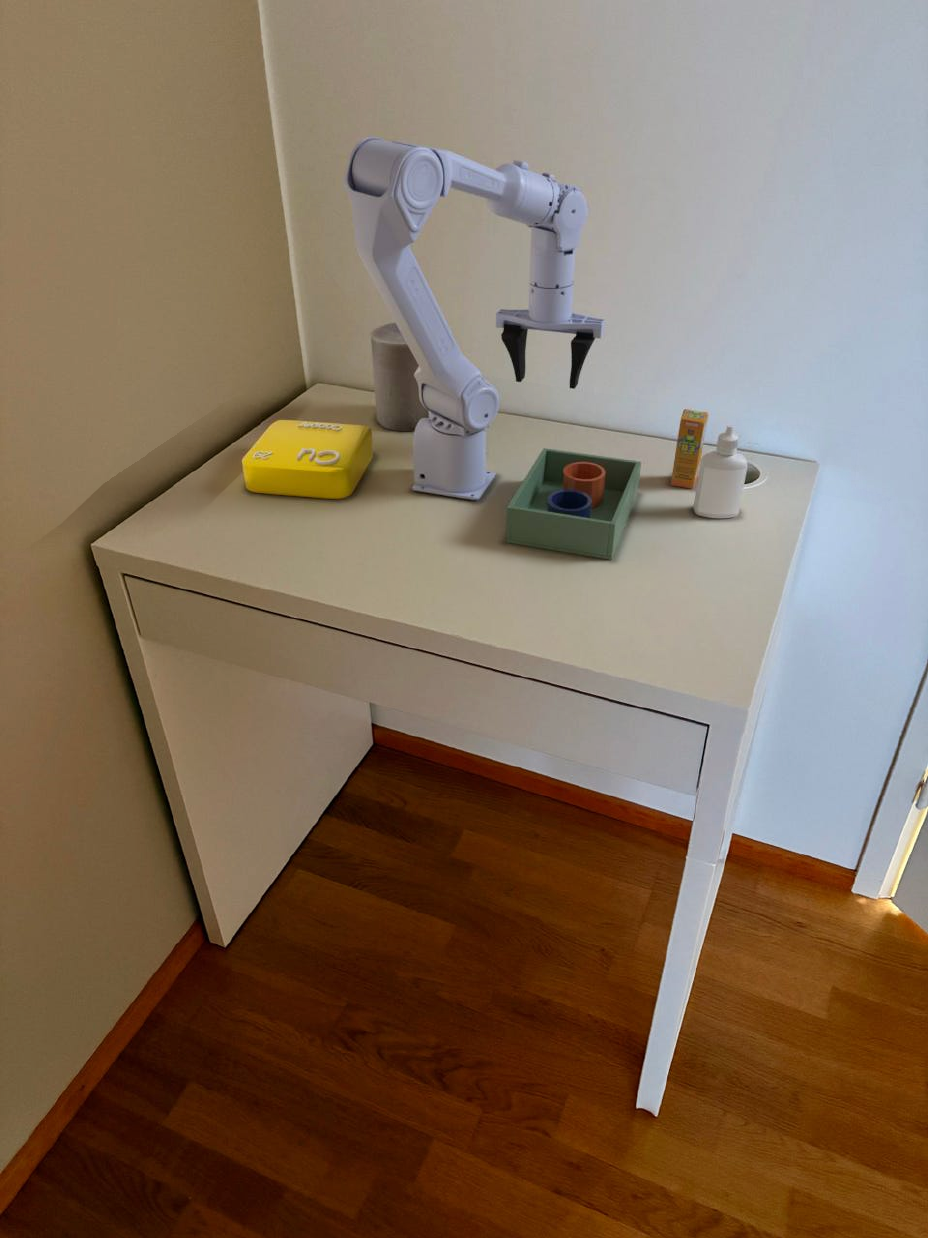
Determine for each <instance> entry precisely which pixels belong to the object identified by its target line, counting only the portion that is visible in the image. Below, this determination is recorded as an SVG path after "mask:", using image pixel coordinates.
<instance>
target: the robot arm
mask: <svg viewBox="0 0 928 1238" xmlns="http://www.w3.org/2000/svg"><path fill="white" fill-rule="evenodd" d="M529 166H530V165H529V163H527V162H525V161H521V160H516V159H514V160H513V161H512V163H511V162H507V163H503V164H500V165H499V166H497V167H496V168H495V169H493V168H491V167H488V166H486V165H483V164H482V163H479V162H476V161H474V160H472V159H469V158H467V157H465V156H463V155H461V154H458V153H455V152H453V151H451V150H448V149H443V148H438V147H433V146H428V145H423V144H417V143H416V144H415V143H409V142H403V141H395V140H391V141H388V140H384V139H383V138H380V137H376V136H367V137H365V138H363V139H361V140H360V141H358V142H357V143H356V144H355V145H354V147H353V148H352V150H351V152H350V154H349V157H348V161H347V165H346V168H345V172H344V175H343V180H342V186H343V187H344V189H345V191H346V193H347V195H348V197H349V200H350V204H351V212H352V213H351V214H352V220H353V221H352V223H353V231H354V240H355V249H356V251H357V254H358V257H359V258H360V261H361V262H362V264H363V266H364V268H365V270H366V271H367V273H368V275H369V277H370V279H371V280H372V282H373V284H374V286H375V288H376V289H377V291H378V294H379V295H380V297H381V299H382V300H383V303H384V305H385V306H386V308H387V310H388V312H389V313H390V315H391V317H392V319H393V321H394V323H396V325H397V326H398V328H399V330H400V332H401V334H402V336H403V337H404V339H405V341H406V343H407V345H408V347H409V348H410V350H411V352H412V354H413V356H414V358H415V359H416V361H417V363H418V365H419V367H418V368H417V370H416V372H415V374H414V377H415V379H416V380H417V383H418V386H419V398H420V401H421V403H422V405H423V406H424V407H425V408H426V409H427V410H429V418H422V419H420V420H419V422H418V424H417V426H416V428H415V430H414V433H413V439H412V459H413V460H412V461H413V462H412V463H413V483H414V484H413V485H412V487H411V489H412V491H415V492H420V493H427V494H433V495H439V496H440V495H441V496H445V497H452V498H456V499H457V498H458V499H464V500H471V501H479V500H480V499H481V498H482V496H483V495H484V493H485V492H486V490H487V489H488V487H489V486H490V485H491V483H492V482H493V480H494V478H495V477H496V472H495V471H491V470H487V429H490V427H491V424H492V423H493V421H494V420H495V418H496V416H497V414H498V412H499V409H500V408H499V407H500V394H499V392H498V390H497V388H496V387H495V386H494V385H493V384H491V383H489V382H488V381H487V380H486V379H485V378H484V376H483V374H482V372H481V370H479V368H477V367H476V366H475V365H474V364H473V363H472V362H471V361H470V360H469V359H468V358H467V357H465V356H464V354H463V353H462V351H461V349H460V347H459V345H458V343H457V341H456V339H455V336H454V335H453V332H452V331H451V329H450V327H449V325H448V323H447V321H446V318H445V317H444V315H443V313H442V310H441V308H440V306H439V305H438V302H437V300H436V298H435V296H434V294H433V292H432V290H431V288H430V286H429V284H428V281H427V280H426V277H425V276H424V274H423V272H422V270H421V268H420V266H419V263H418V262H417V259H416V256H415V255H414V253H413V251H412V249H411V245H412V244H413V243H414V242H416V240H417V238H418V237H419V235H420V233H421V232H422V230H423V228H424V226H425V224H426V223H427V220H429V219H428V218H429V216H431V214H432V212H433V210H434V208H435V206H436V204H437V202H438V200H439V199H440V197H441V198H446V197H447V196H448V195H449V191H450V189H453V190H456V191H460V192H461V193H466V194H468V195H469V194H470V195H473V196H476V197H480V198H483V199H485V201H486V204H487V207H488V209H489V210H490V212H491V213H493V214H494V215H495V216H499V217H502V218H505V219H508V220H512V221H514V222H517V223H521V224H524V225H525V226H527V227H528V228H531V230H530V231H531V233H530V260H529V261H530V263H529V290H528V291H529V292H528V309H507V308H506V309H504V308H500V309H499V310H497V312H496V313H495V328H498V329H499V328H500V329H502V333H501V335H500V336H501V341H502V343H503V344H504V347H505V348H506V351H507V352H508V356H509V358H510V360H511V361H510V362H511V364H512V367H513V371H514V377H515V382H518V383H522V381H523V380H524V379H525V377H526V347H527V337H528V330H533V331H542V332H553V333H563V334H573V335H575V336H574V337H573V338H572V339H571V341H570V351H571V356H570V357H571V368H570V376H569V389H572V390H574V389H576V387H577V386H578V385H579V379H580V375H581V371H582V369H583V366H584V363H585V360H586V358H587V356H588V353H589V352H590V349H591V347H592V345H593V343H594V342H595V339H601V338H602V337H603V336H604V334H605V326H606V325H605V324H606V319H603V318H598V317H597V318H596V317H591V316H587V315H583V314H580V313H579V314H578V313H575V312H573V297H574V282H575V281H574V280H575V265H576V252H577V251H576V250H577V248H578V246H579V243H581V233H582V230H583V228H584V226H585V224H586V223H587V220H588V216H589V210H590V207H589V206H587V200H586V197H585V196H584V194H583V193H582V190H581V189H580V188H579V187H578V186H576V185H574V184H568V183H564V182H559V181H556V180H555V175H554V174H552V173H548V172H542V174H540V173H537V172H535V171H531V170H530V169H529Z"/></svg>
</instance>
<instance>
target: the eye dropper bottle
mask: <svg viewBox="0 0 928 1238" xmlns="http://www.w3.org/2000/svg"><path fill="white" fill-rule="evenodd" d="M734 428H735V427H734V425H733V424H728V425H727V426H726V428H725V431H724V432H721V433H720V434H718V437H717V443H716V448H715V450H713V451H710V452H707V453H705V454H704V455H702V456H701V460H700V467H699V473H698V479H697V481H696V486H695V487H696V488H695V495H694V500H693V510H694V513H695V515H697V516H701V517H703V518H709V519H731V518H735V517H737V516H739V512H740V508H741V502H742V497H743V493H744V487H745V481H746V477H747V471H748V460H747V458H746V457H745V455H743V454H741V453H739V452H737V450H738V445H739V440H740V438H739V436H738V434H737V433H735V430H734Z"/></svg>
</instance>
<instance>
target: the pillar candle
mask: <svg viewBox="0 0 928 1238" xmlns="http://www.w3.org/2000/svg"><path fill="white" fill-rule="evenodd" d="M369 335H370V343H371V357H372V370H373V371H372V372H373V385H374V386H373V387H374V398H375V412H376V413H375V414H376V421H377V422H378V423H379V424H380V426H381V427H383V428H385V429H387V430H389V431H390V430H391V431H397V432H413V431H414V432H415V428H416V426H417V424H418V422H419V420H420V419H422V418H429V410H427V409H426V408H425V407H424V406H423V405H422V403H421V401H420V398H419V386H418V383H417V380H416V379H415V377H414V374H415V372H416V370H417V368H418V367H419V365H418V363H417V361H416V359H415V358H414V356H413V354H412V352H411V350H410V348H409V347H408V345H407V343H406V341H405V339H404V337H403V336H402V334H401V332H400V330H399V328H398V326H397V325H396V323H395V322H389V323H386V324H382V325H379V326H376V327H374V328H373V329H372V331H370V334H369Z"/></svg>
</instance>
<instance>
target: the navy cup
mask: <svg viewBox="0 0 928 1238" xmlns="http://www.w3.org/2000/svg"><path fill="white" fill-rule="evenodd" d="M591 509H592V500H591V497H590V496H589V495H587V494H586V493H584V492H581V491H578V490H571V489H568V490H559V491H555V492H553V493H551V494H550V495H549V496H548V498H547V509H546V511H547V512H554V513H560V514H566V515H572V516H579V517H585V518H591Z"/></svg>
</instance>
